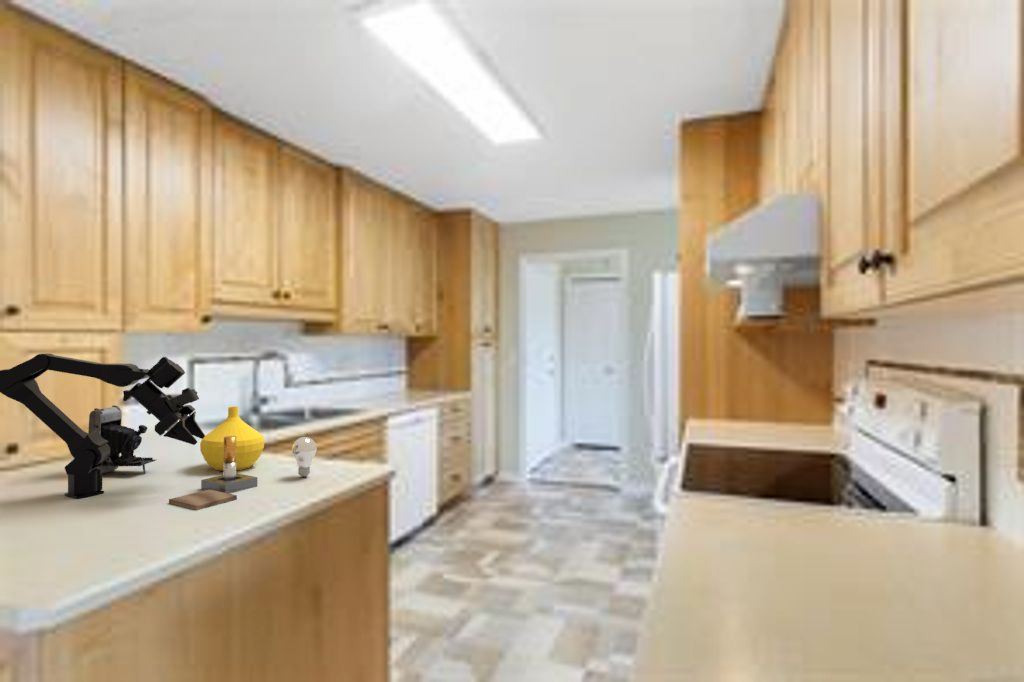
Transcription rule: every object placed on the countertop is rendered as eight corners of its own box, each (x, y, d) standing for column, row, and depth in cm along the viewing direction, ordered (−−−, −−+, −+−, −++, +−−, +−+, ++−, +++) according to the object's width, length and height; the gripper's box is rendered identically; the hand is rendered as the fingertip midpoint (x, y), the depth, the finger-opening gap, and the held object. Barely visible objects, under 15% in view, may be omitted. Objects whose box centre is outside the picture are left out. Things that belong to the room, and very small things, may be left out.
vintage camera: (137, 480, 174) (141, 411, 174) (84, 476, 174) (88, 408, 174) (157, 472, 184) (161, 407, 184) (107, 469, 184) (111, 404, 184)
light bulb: (320, 474, 182) (320, 435, 182) (310, 480, 175) (310, 439, 175) (298, 474, 183) (298, 434, 182) (287, 479, 176) (287, 438, 175)
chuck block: (225, 494, 159) (225, 484, 159) (201, 489, 164) (201, 479, 164) (257, 486, 168) (257, 477, 168) (233, 481, 173) (233, 472, 172)
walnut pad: (196, 510, 145) (196, 505, 145) (168, 503, 150) (168, 499, 150) (236, 499, 155) (236, 495, 155) (209, 493, 160) (209, 489, 160)
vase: (193, 475, 178) (194, 411, 178) (207, 462, 196) (207, 404, 195) (260, 473, 183) (260, 410, 183) (267, 460, 201) (268, 403, 200)
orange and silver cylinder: (228, 489, 164) (228, 438, 163) (220, 488, 165) (221, 437, 165) (238, 487, 166) (239, 436, 166) (230, 485, 168) (231, 435, 168)
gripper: (169, 382, 153) (216, 424, 156) (187, 376, 171) (229, 414, 174) (133, 413, 151) (182, 455, 154) (155, 404, 169) (199, 442, 172)
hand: (200, 440), depth 164 cm, fingers open, 9 cm apart
